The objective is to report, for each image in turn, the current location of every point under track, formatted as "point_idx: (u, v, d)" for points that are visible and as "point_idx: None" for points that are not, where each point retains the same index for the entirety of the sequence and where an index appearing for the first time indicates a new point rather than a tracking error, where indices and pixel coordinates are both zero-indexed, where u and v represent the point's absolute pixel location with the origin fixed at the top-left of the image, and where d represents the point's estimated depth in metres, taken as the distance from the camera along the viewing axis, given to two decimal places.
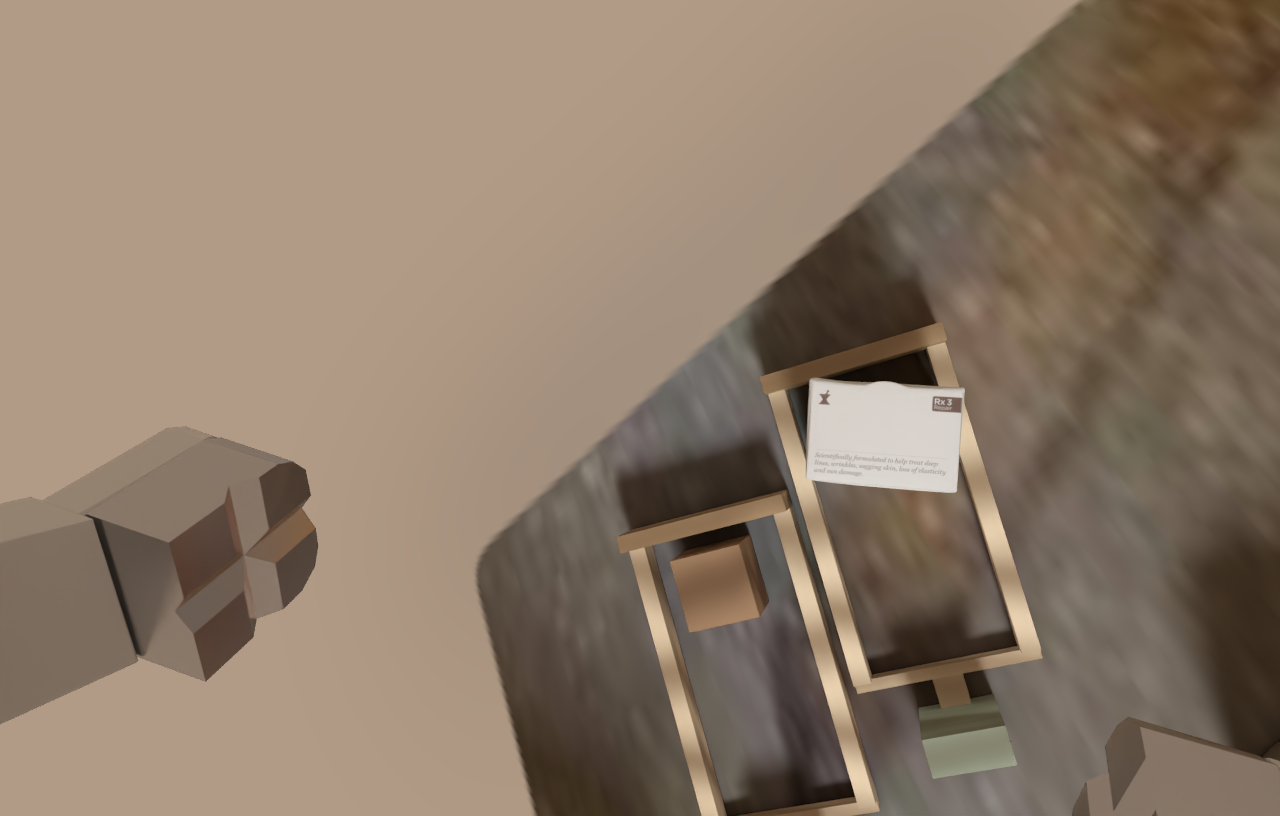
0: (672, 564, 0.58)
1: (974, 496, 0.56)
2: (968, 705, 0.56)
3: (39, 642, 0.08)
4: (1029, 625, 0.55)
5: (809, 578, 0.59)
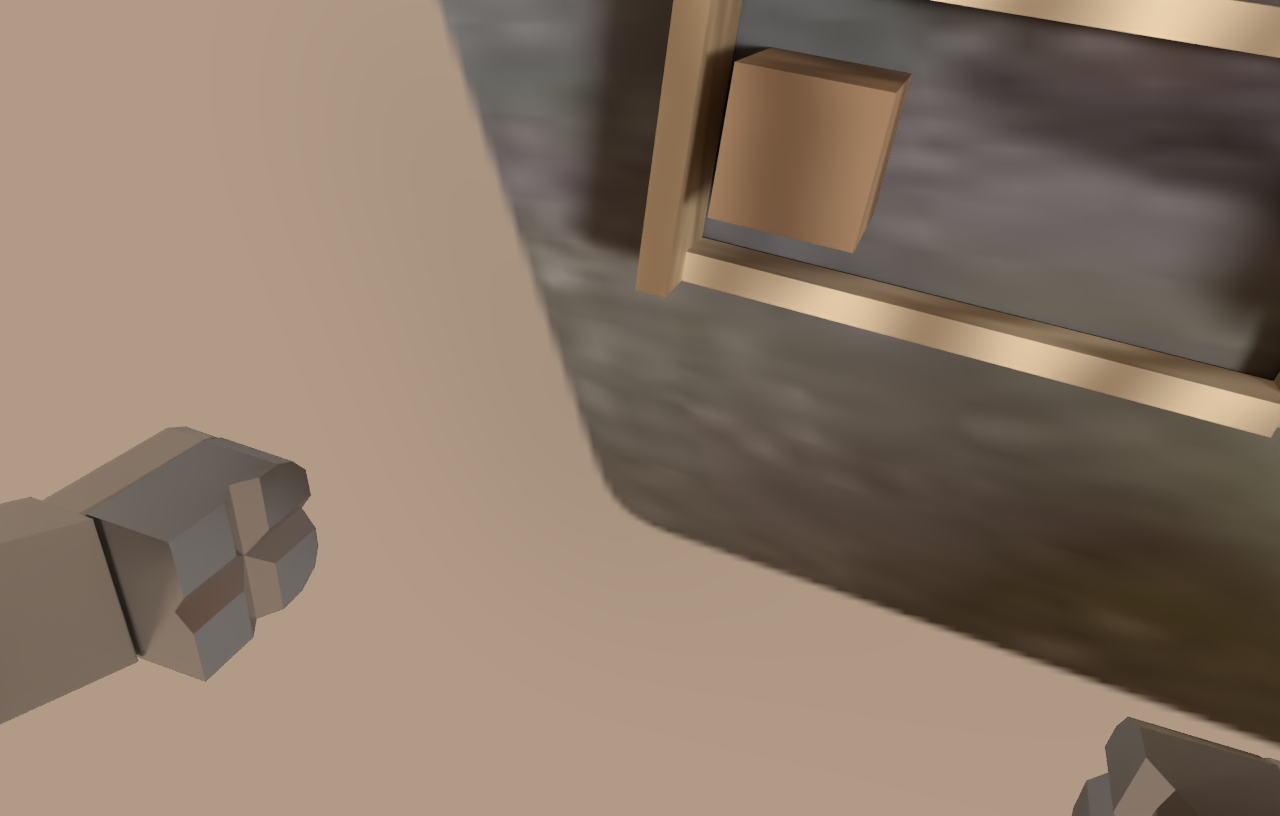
0: (714, 215, 0.29)
1: None
2: None
3: (40, 642, 0.08)
4: None
5: None
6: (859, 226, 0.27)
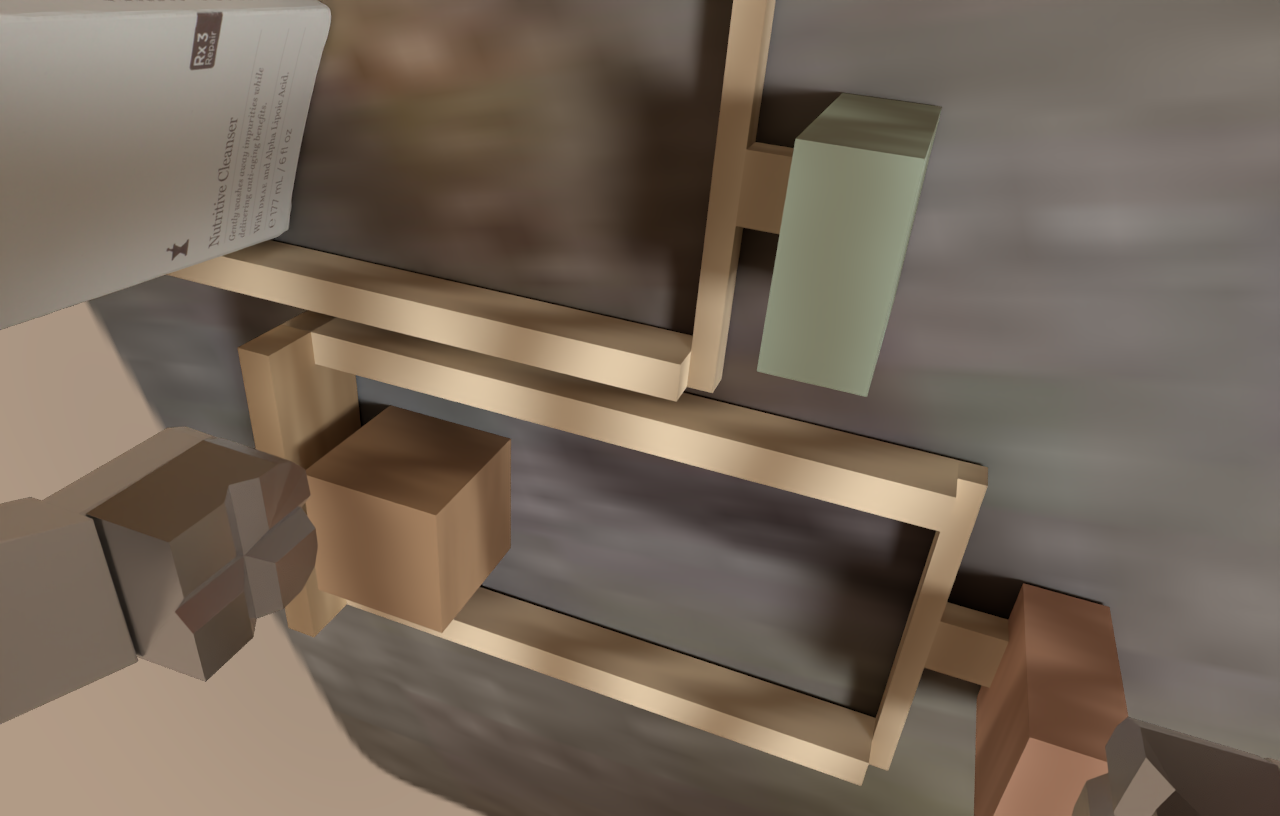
0: (323, 588, 0.30)
1: None
2: None
3: (39, 642, 0.08)
4: None
5: (444, 366, 0.27)
6: (441, 612, 0.28)
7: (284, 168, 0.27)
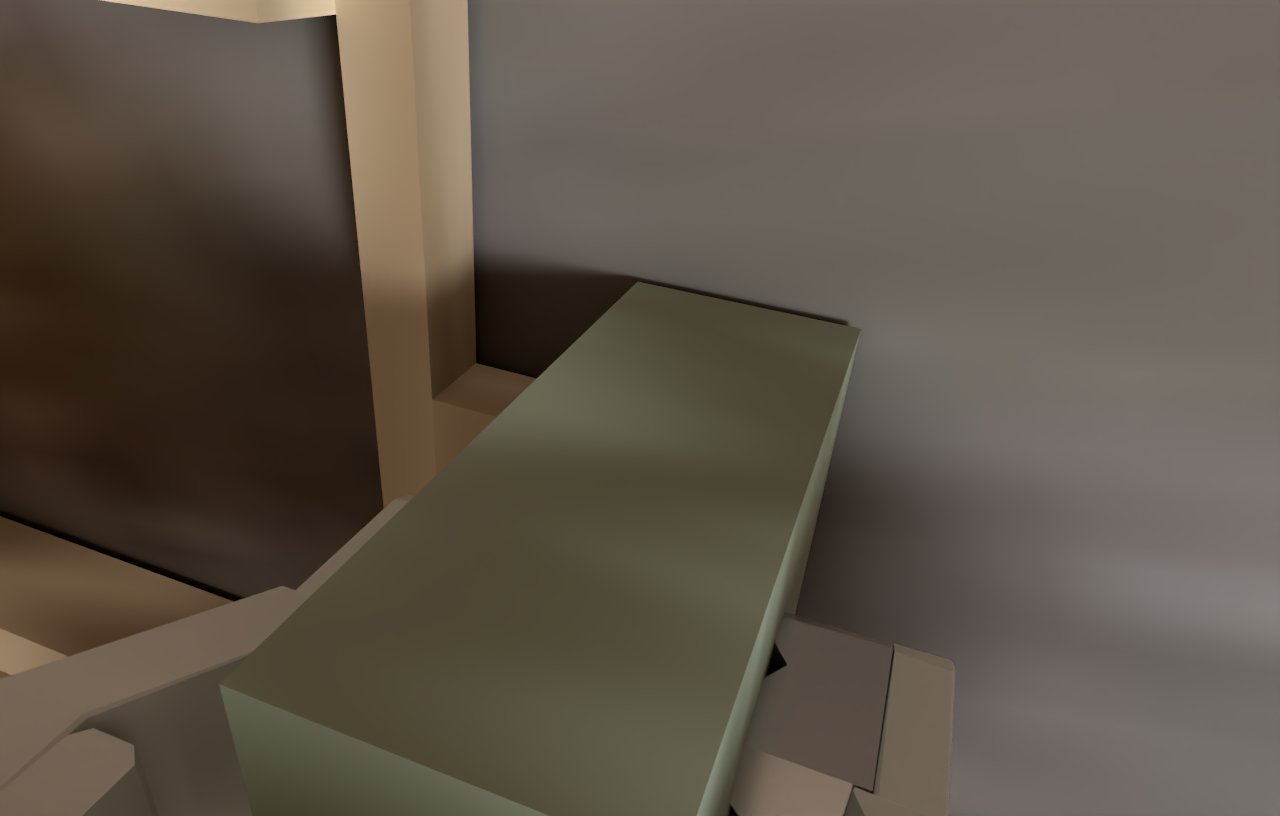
0: None
1: None
2: None
3: None
4: None
5: None
6: None
7: None
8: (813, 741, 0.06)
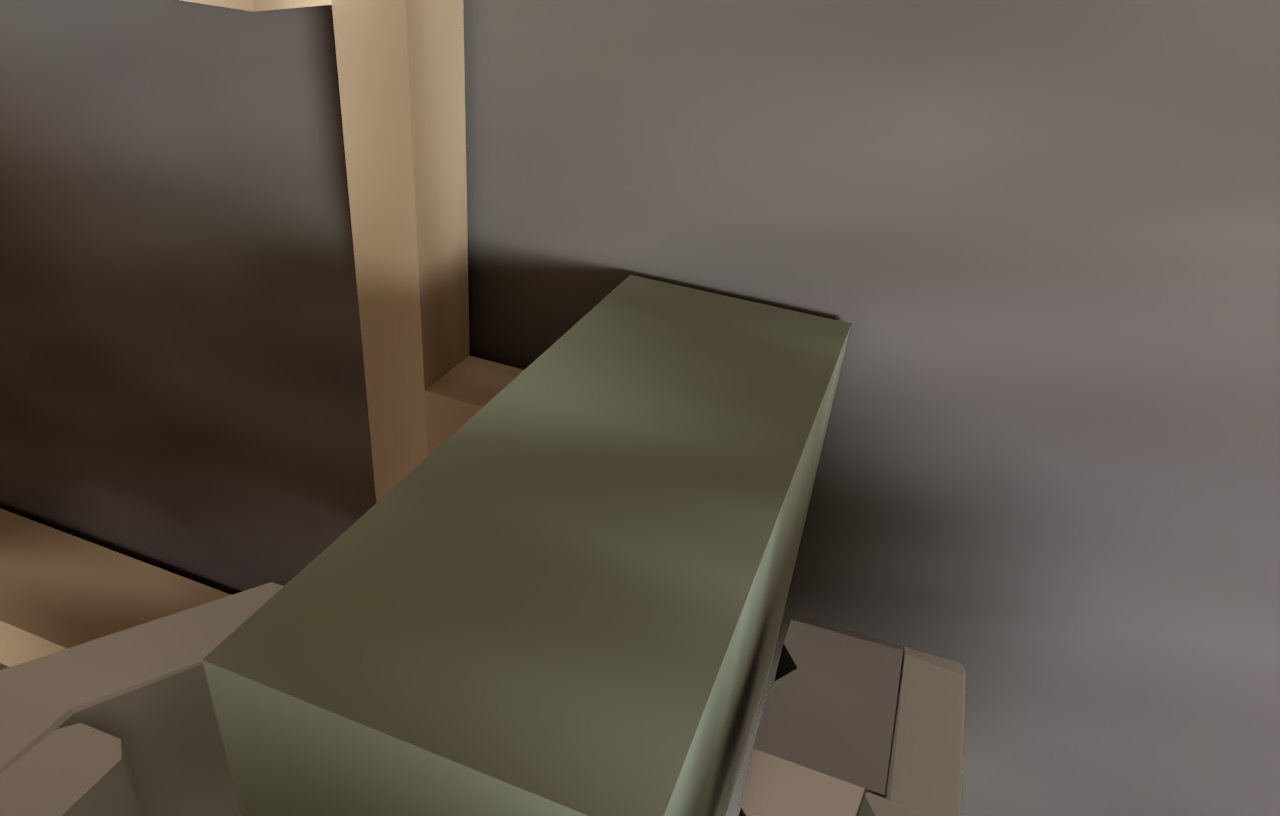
0: None
1: None
2: None
3: None
4: None
5: None
6: None
7: None
8: (824, 745, 0.06)
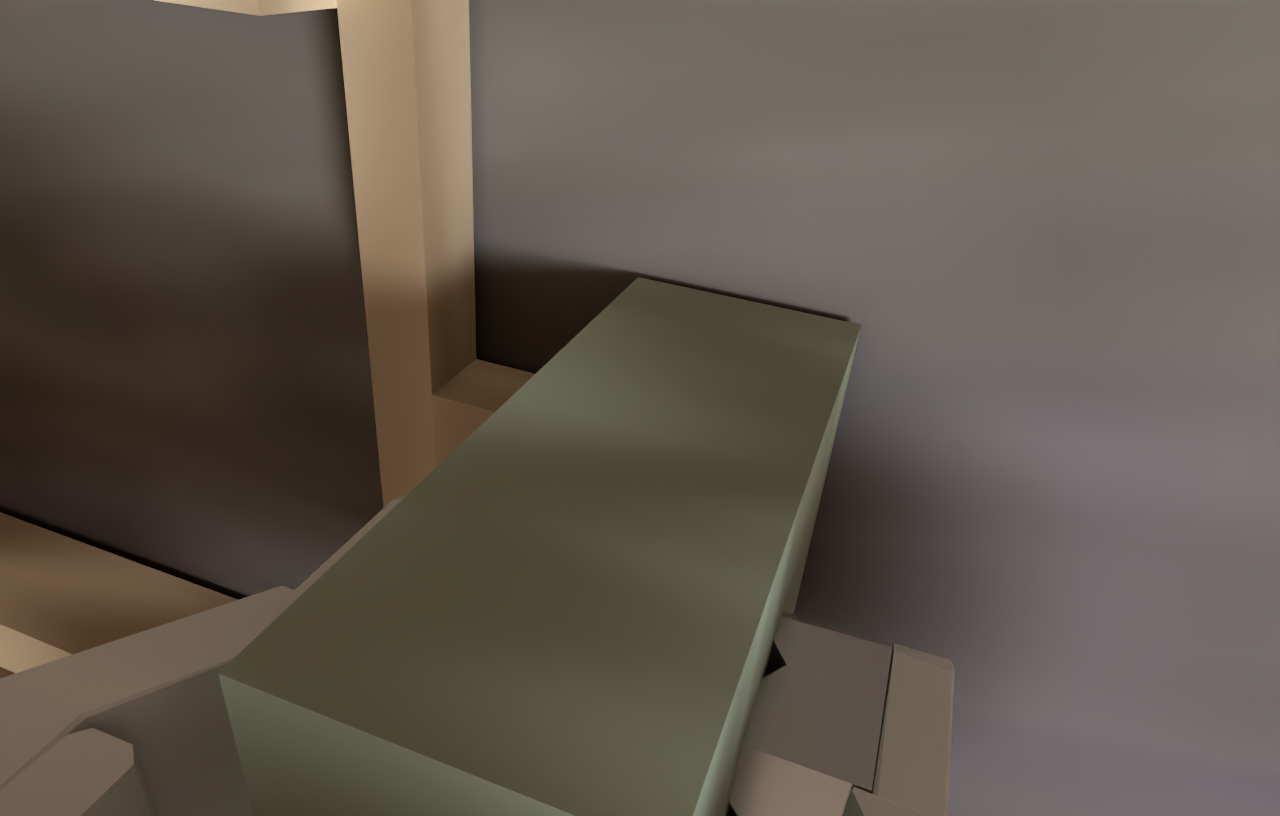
0: None
1: None
2: None
3: None
4: None
5: None
6: None
7: None
8: (813, 741, 0.06)
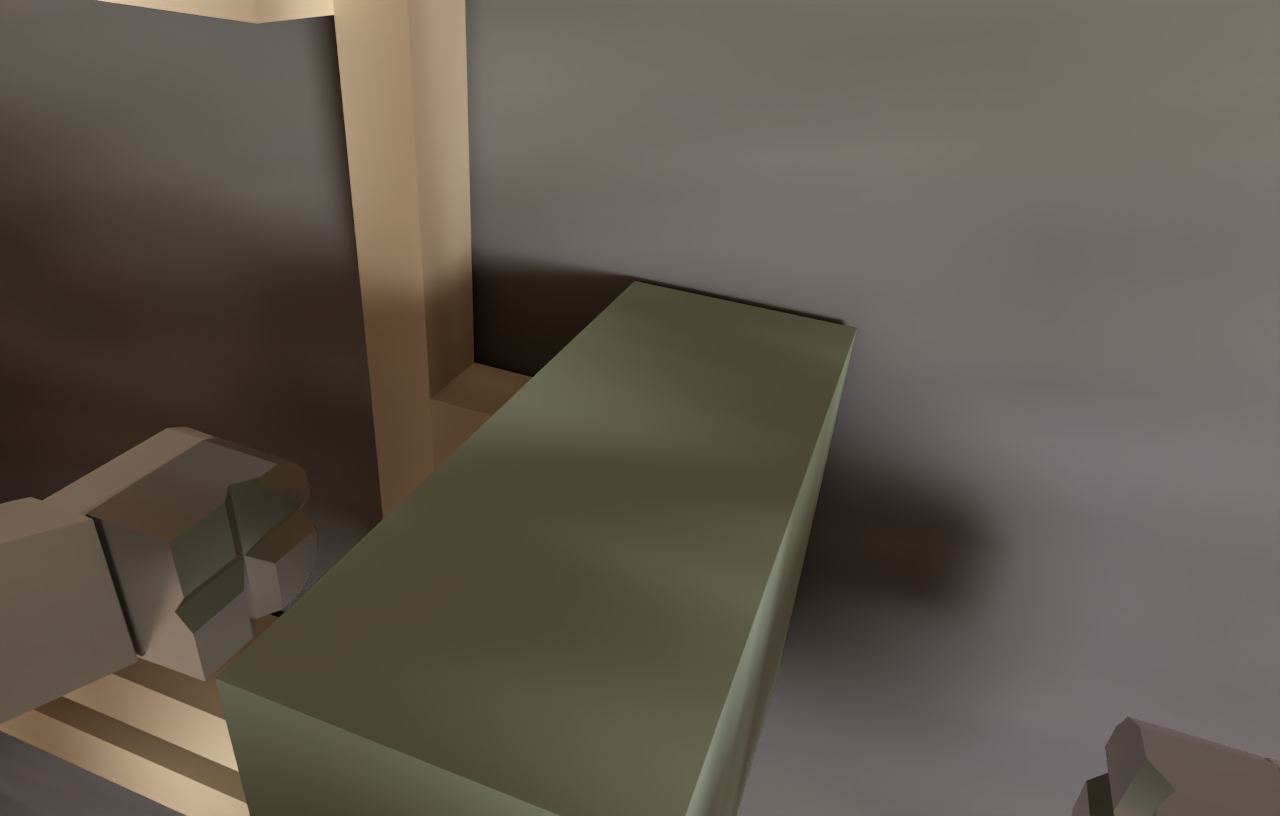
0: None
1: None
2: None
3: (40, 642, 0.08)
4: None
5: None
6: None
7: None
8: None
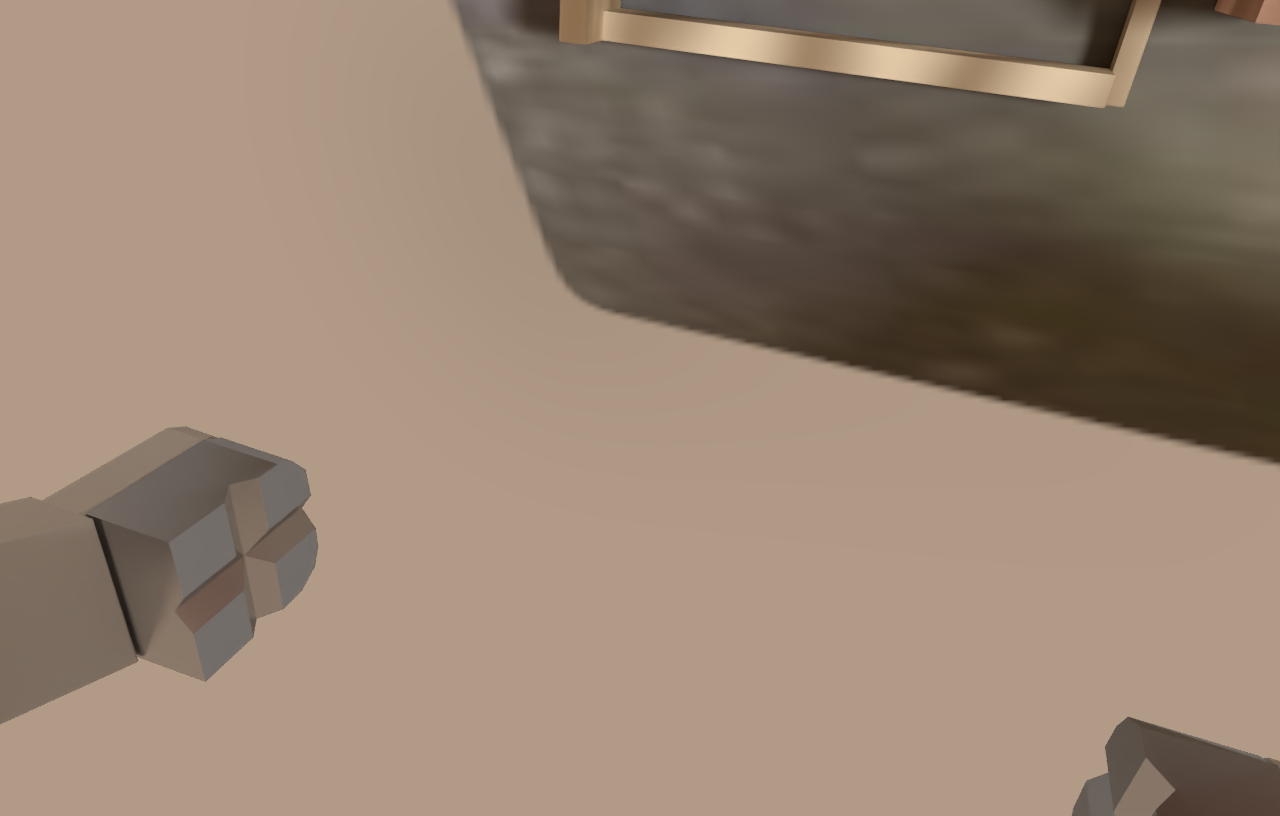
0: None
1: None
2: None
3: (40, 642, 0.08)
4: None
5: None
6: None
7: None
8: None
